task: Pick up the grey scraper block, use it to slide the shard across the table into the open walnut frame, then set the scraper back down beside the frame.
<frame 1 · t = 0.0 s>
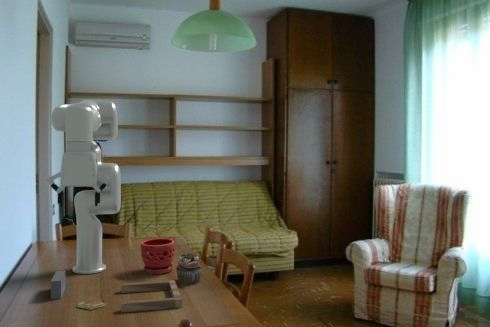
hand: (79, 205, 130), 31 cm above the table, tool pointing down, fingers open, 9 cm apart
shard: (90, 305, 137), on the table
cupcake: (188, 281, 161), on the table
walnut frame: (146, 299, 142), on the table
scraper block: (58, 293, 147), on the table
plant pot: (157, 271, 174), on the table
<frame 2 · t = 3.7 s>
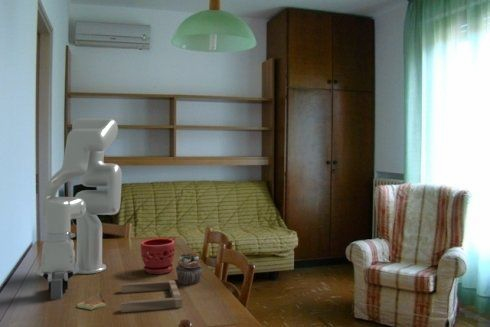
hand: (58, 291, 147), 0 cm above the table, tool pointing down, fingers closed on scraper block, 3 cm apart
scraper block: (58, 293, 147), on the table, touching gripper
everything else where it was.
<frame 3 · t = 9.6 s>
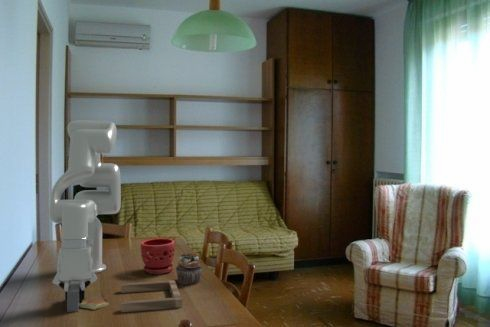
hand: (75, 301, 136), 1 cm above the table, tool pointing down, fingers closed on scraper block, 2 cm apart
shard: (93, 305, 137), on the table, touching gripper
scraper block: (74, 304, 136), on the table, touching gripper
everything else where it was.
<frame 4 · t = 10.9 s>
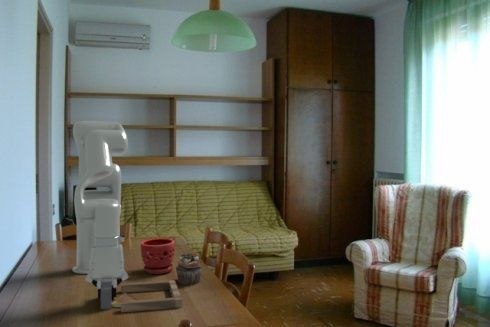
hand: (107, 299, 138), 1 cm above the table, tool pointing down, fingers closed on scraper block, 2 cm apart
shard: (121, 304, 138), on the table, touching scraper block
scraper block: (106, 302, 138), on the table, touching shard, gripper
everything else where it was.
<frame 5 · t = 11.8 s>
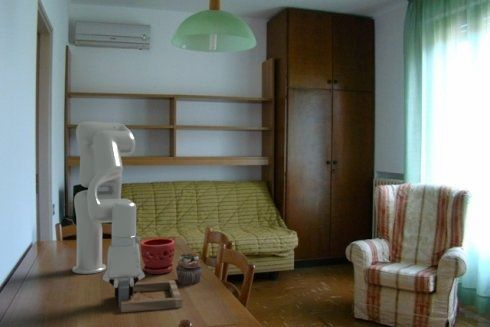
hand: (123, 298, 140), 1 cm above the table, tool pointing down, fingers closed on scraper block, 2 cm apart
shard: (137, 303, 139), on the table, touching gripper
scraper block: (123, 301, 139), on the table, touching gripper
everything else where it was.
when the fingers open (2 cm above the table, at t = 18.6 s): scraper block stays where it is, on the table.
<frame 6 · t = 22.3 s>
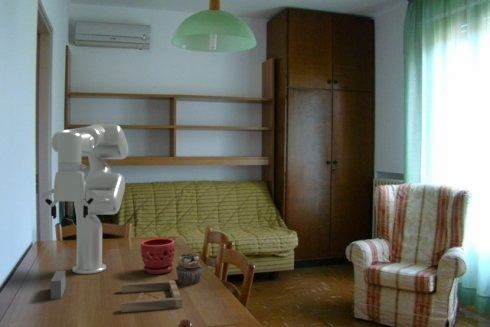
hand: (69, 217, 151), 24 cm above the table, tool pointing down, fingers open, 9 cm apart
shard: (142, 304, 139), on the table
scraper block: (58, 293, 147), on the table
everything else where it was.
at the end: shard inside the target area (2.9 cm from its centre), on the table; shard tilted 0°; scraper block touching table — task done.
